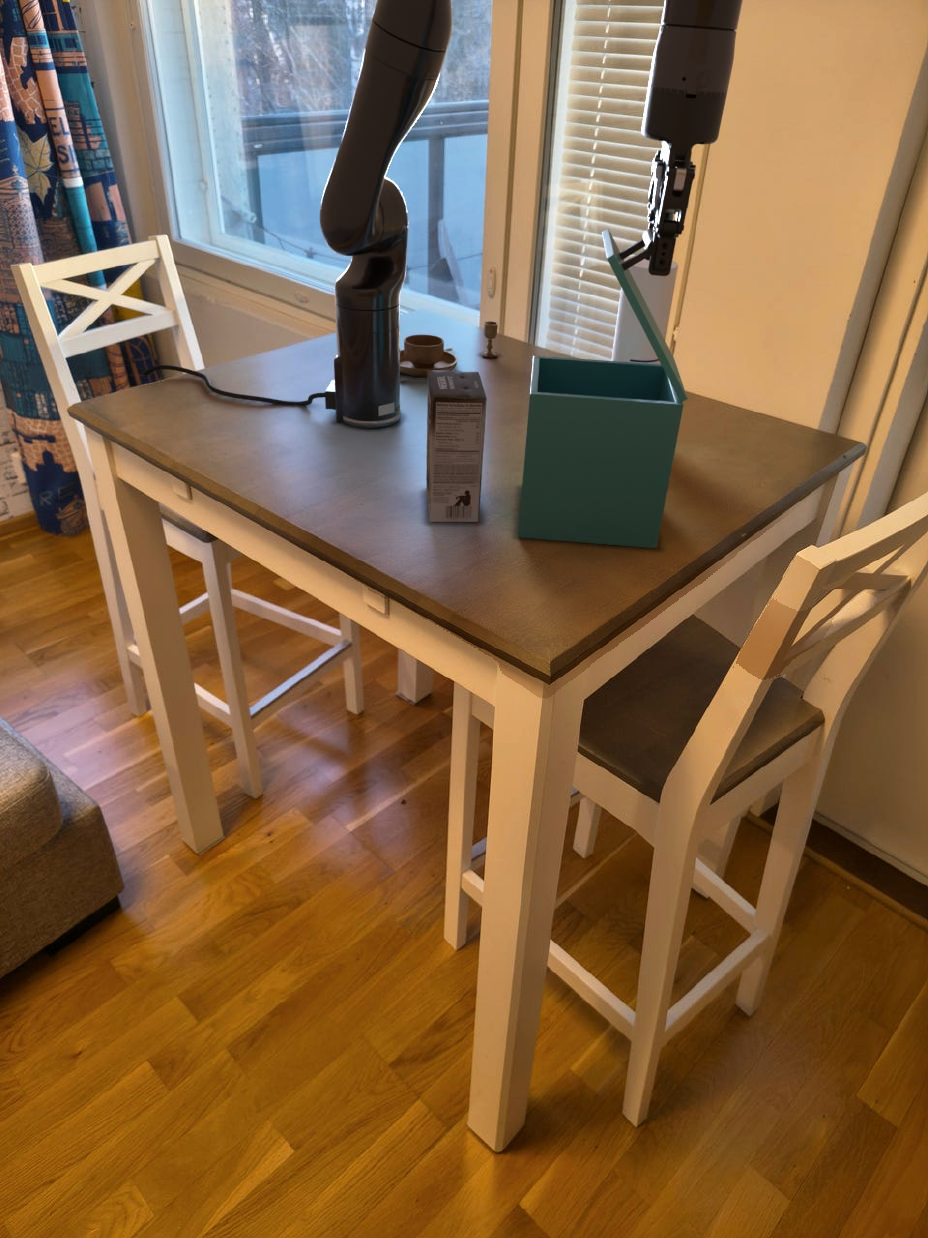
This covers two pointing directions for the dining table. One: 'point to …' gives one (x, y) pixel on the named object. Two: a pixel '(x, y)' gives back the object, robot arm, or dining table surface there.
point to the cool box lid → (642, 301)
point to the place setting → (435, 353)
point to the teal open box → (598, 451)
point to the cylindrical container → (628, 330)
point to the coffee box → (455, 445)
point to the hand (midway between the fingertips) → (655, 266)
